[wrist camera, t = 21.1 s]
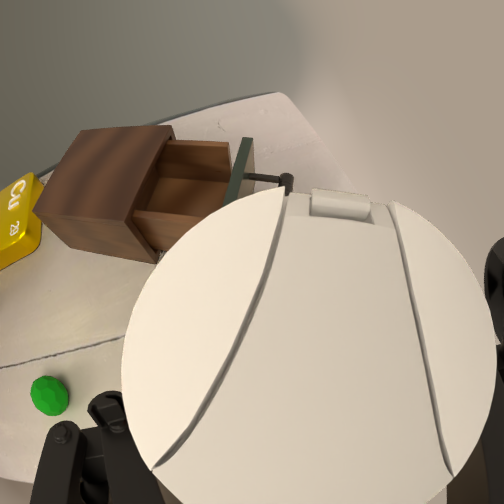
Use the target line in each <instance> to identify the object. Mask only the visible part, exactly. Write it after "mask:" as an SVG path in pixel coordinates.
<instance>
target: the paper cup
mask: <svg viewBox="0 0 504 504" xmlns="http://www.w3.org/2000/svg"><path fill="white" fill-rule="evenodd" d="M496 367H497V354H496V341H495V332H494V327H493V323H492V318H491V314H490V310H489V307H488V304H487V301H486V299H485V296H484V294H483V291H482V289H481V286H480V284H479V282H478V280H477V279H476V277H475V275H474V273H473V271H472V270H471V268H470V266H469V265H468V263H467V261H466V260H465V259H464V258H463V256H462V255H461V254H460V252H459V251H458V250H457V248H456V247H455V246H454V245H453V243H452V242H451V241H450V240H449V239H448V238H447V237H446V236H444V235H443V234H442V233H441V232H440V231H439V230H438V229H437V228H436V227H435V226H434V225H433V224H431V223H430V222H429V221H427V220H426V219H424V218H423V217H422V216H420V215H419V214H418V213H416V212H415V211H413V210H411V209H410V208H408V207H406V206H404V205H402V204H400V203H398V202H396V201H390V202H389V204H388V205H387V206H386V205H385V204H379V203H373V202H370V200H369V197H368V196H367V195H362V194H355V193H347V192H340V191H332V190H324V189H316V188H312V194H303V193H293V192H290V194H289V196H285V186H282V187H277V188H273V189H268V190H264V191H260V192H257V193H255V194H252V195H249V196H247V197H244V198H241V199H239V200H236V201H234V202H232V203H230V204H228V205H226V206H225V207H223V208H221V209H219V210H217V211H216V212H214V213H212V214H210V215H209V216H207V217H206V218H205V219H203V220H202V221H201V222H199V223H198V224H197V225H195V226H194V227H193V228H191V229H190V230H189V231H188V232H186V233H185V234H184V235H183V236H182V237H181V238H180V239H179V240H178V241H177V242H176V244H175V245H174V246H173V247H172V248H171V249H170V250H169V251H168V252H167V253H166V254H165V255H164V257H163V258H162V259H161V261H160V262H159V264H158V265H157V266H156V268H155V269H154V271H153V272H152V273H151V275H150V276H149V278H148V280H147V281H146V283H145V285H144V287H143V289H142V291H141V293H140V295H139V297H138V299H137V301H136V303H135V305H134V308H133V312H132V315H131V318H130V321H129V324H128V328H127V331H126V334H125V340H124V347H123V354H122V362H121V380H122V398H123V403H124V408H125V412H126V417H127V421H128V425H129V429H130V431H131V434H132V436H133V439H134V441H135V444H136V446H137V448H138V450H139V453H140V455H141V457H142V459H143V460H144V462H145V464H146V465H147V467H148V468H149V470H150V471H151V470H153V471H152V473H153V474H154V475H155V476H156V477H157V478H158V479H159V480H160V481H161V483H162V484H163V485H164V486H165V487H166V488H167V489H168V490H169V491H170V492H171V493H172V494H173V495H174V496H176V497H177V498H178V499H179V500H180V501H181V502H182V503H183V504H426V503H427V502H428V501H429V500H431V499H432V498H433V497H434V496H435V495H436V494H437V493H439V492H440V491H441V490H442V489H443V488H444V487H445V486H446V485H447V484H448V483H450V482H451V481H452V479H453V477H454V478H455V476H456V475H457V474H458V473H459V471H460V470H461V469H462V467H463V466H464V464H465V463H466V461H467V460H468V458H469V456H470V455H471V453H472V451H473V449H474V448H475V446H476V444H477V442H478V440H479V438H480V435H481V433H482V430H483V428H484V425H485V423H486V420H487V418H488V415H489V411H490V407H491V403H492V398H493V394H494V389H495V380H496Z"/></svg>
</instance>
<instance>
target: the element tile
mask: <svg viewBox="0 0 504 504" xmlns="http://www.w3.org/2000/svg"><path fill="white" fill-rule="evenodd" d="M43 189H44V186H43V184H42V183H41V182H40V181H39V180H38V178H37V177H36V176H35V175H34V174H33V173H28V174H26V175H24V176H23V177H21V178H20V179H18V180H17V181H15V182H14V183H12V184H11V185H9V186H8V187H6V188H5V189H4V190H2V191H1V192H0V270H2V269H3V268H5V267H7V266H9V265H10V264H12V263H14V262H16V261H17V260H19V259H21V258H23V257H25V256H26V255H28V254H30V253H32V252H33V251H34V250H35V249H36V248H37V247H38V245H39V243H40V239H41V220H40V219H39V218H38V217H37V216H36V215H35V214H34V213H33V212H32V210H33V208H34V206H35V204H36V202H37V200H38V198H39V196H40V194H41V193H42V191H43Z"/></svg>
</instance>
